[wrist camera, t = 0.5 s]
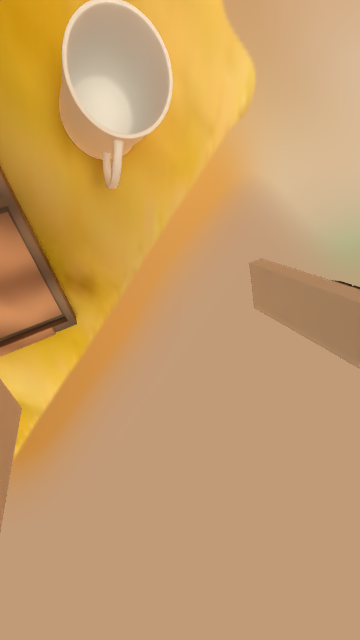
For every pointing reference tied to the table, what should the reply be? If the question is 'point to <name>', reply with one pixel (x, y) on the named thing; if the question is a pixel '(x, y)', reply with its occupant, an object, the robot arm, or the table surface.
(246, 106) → the table surface
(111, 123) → the mug
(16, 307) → the rack
